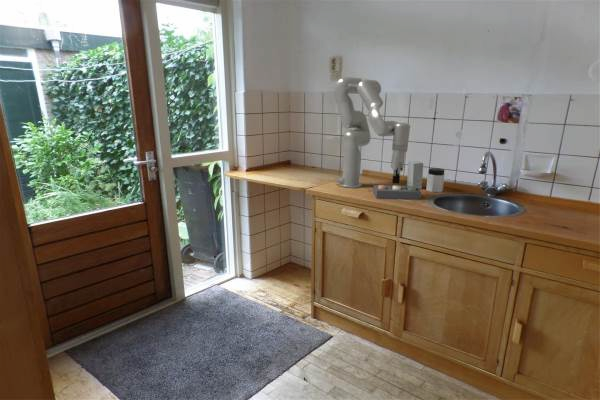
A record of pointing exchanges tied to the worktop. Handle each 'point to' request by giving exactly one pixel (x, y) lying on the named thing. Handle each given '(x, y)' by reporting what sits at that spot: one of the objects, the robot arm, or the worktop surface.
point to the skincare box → (415, 174)
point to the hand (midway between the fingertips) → (395, 182)
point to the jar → (435, 180)
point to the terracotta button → (382, 186)
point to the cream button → (396, 187)
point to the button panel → (396, 193)
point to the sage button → (411, 188)
